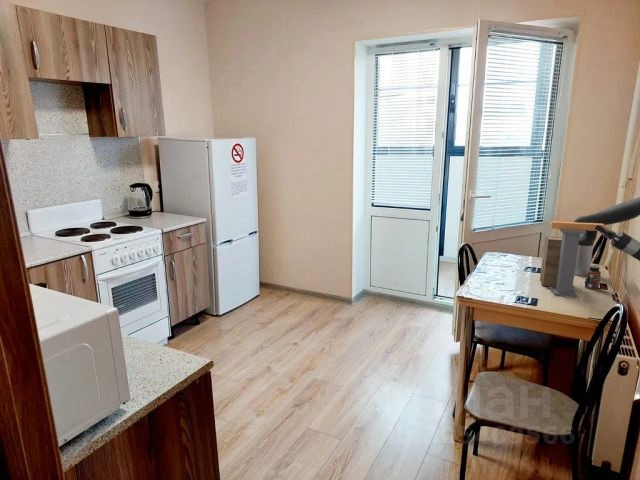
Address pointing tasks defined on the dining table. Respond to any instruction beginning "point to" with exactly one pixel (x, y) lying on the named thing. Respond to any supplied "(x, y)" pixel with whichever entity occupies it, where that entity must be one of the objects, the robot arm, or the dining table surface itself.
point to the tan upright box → (550, 260)
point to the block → (575, 226)
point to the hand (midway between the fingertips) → (593, 224)
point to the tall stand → (567, 263)
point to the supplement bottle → (593, 277)
